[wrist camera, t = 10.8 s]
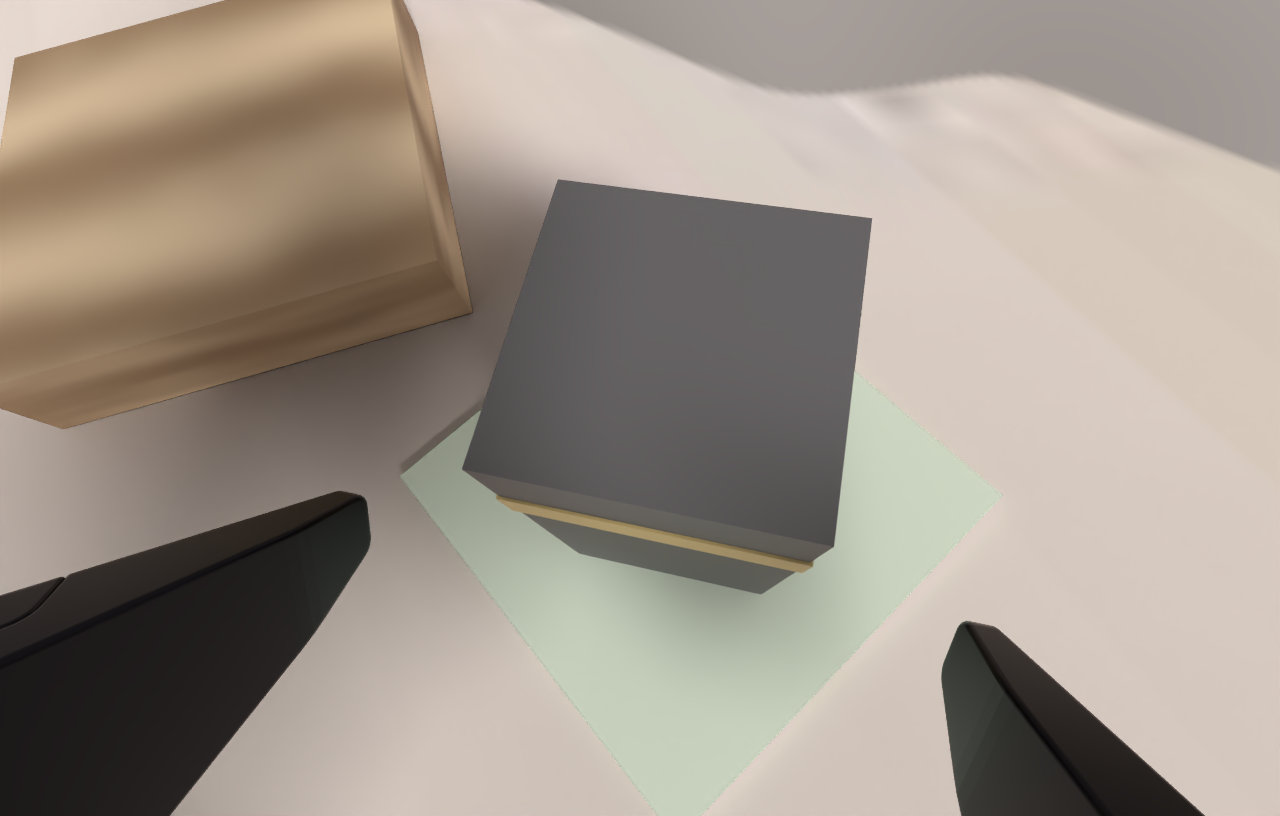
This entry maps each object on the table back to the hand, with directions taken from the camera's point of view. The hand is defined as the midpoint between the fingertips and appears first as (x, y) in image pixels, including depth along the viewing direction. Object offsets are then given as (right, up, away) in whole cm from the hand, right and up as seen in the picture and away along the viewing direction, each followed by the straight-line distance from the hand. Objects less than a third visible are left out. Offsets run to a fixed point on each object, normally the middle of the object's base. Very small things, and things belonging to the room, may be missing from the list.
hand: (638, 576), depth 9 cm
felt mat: (+1, 0, +8) cm, 9 cm away
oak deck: (-14, +10, +14) cm, 22 cm away
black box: (+1, 0, +8) cm, 8 cm away
